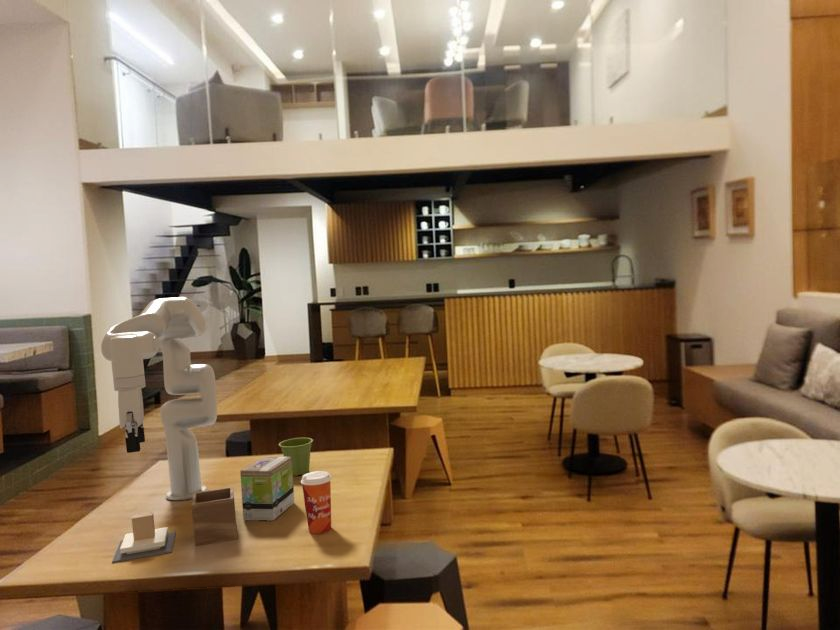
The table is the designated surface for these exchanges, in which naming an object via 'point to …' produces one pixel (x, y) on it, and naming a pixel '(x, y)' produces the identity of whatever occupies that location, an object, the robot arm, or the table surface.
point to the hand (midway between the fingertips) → (136, 447)
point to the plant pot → (298, 454)
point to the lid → (143, 535)
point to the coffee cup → (317, 500)
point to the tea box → (267, 488)
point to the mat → (162, 550)
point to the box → (214, 516)
